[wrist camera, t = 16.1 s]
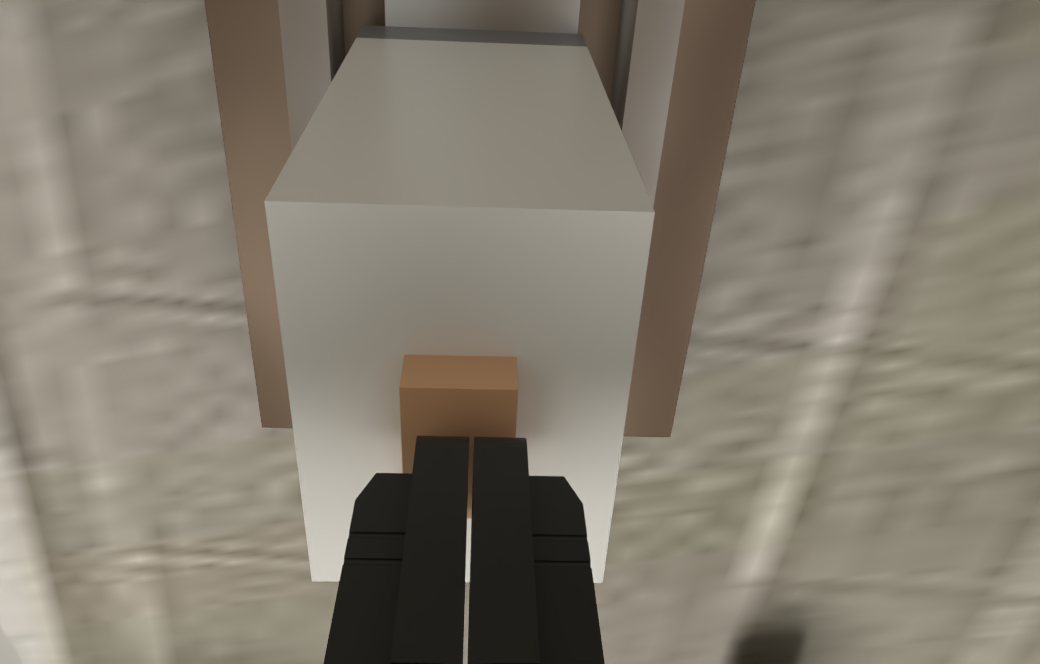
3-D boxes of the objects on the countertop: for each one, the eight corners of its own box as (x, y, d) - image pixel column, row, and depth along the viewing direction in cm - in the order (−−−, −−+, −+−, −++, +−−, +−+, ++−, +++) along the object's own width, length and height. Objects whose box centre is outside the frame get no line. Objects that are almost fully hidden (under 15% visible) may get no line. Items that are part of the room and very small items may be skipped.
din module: (581, 33, 19) (666, 239, 10) (560, 297, 23) (608, 620, 14) (363, 25, 19) (248, 228, 10) (377, 293, 23) (303, 619, 14)
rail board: (780, -229, 19) (838, -236, 16) (662, 409, 28) (683, 483, 25) (189, -272, 18) (127, -288, 15) (272, 398, 28) (245, 474, 25)
